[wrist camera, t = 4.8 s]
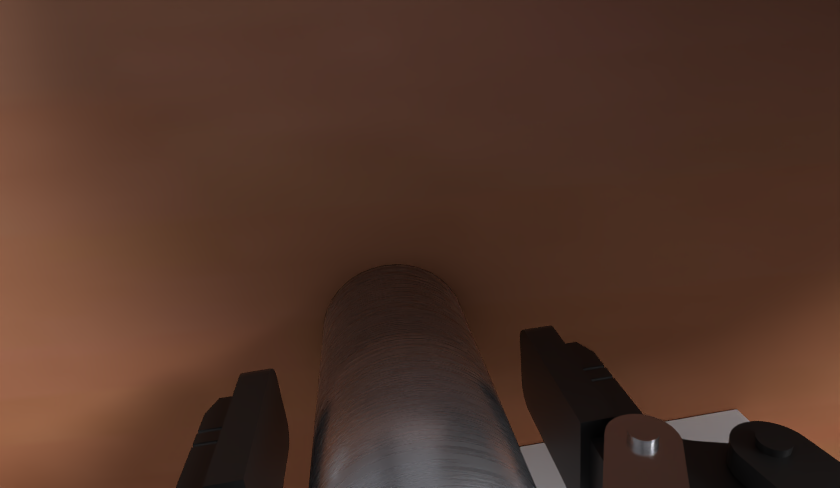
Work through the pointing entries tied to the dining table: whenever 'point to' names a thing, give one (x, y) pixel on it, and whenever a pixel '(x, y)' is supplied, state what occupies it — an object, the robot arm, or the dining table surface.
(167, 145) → the dining table surface
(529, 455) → the jig
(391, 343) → the shiny steel cylinder
